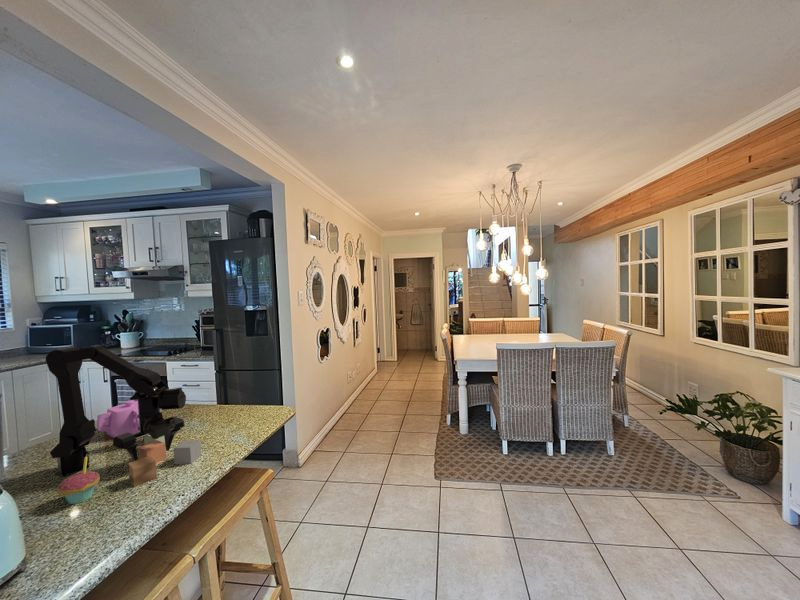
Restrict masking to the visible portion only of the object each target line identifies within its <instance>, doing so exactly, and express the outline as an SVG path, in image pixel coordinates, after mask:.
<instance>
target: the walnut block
mask: <svg viewBox="0 0 800 600" xmlns="http://www.w3.org/2000/svg"><path fill="white" fill-rule="evenodd" d="M157 473H158V472H157V463H156V461H155V460H154V459H153V458H152V457H151V456H148V457H145V458H142V459H139V458H138V460H136V461H134V460H133V461H131V462H128V475H129V482H130V483H131V485H132V484H133V485H132V486H133V488H135V487H136V486H137V487H138V485H139V486H141V484H142V485H145V484H146V482H147V483H149V482H151V480H152V481H155V480H157V479H158V475H157ZM154 479H155V480H154ZM148 481H149V482H148Z"/></svg>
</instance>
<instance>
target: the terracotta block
mask: <svg viewBox="0 0 800 600" xmlns="http://www.w3.org/2000/svg"><path fill="white" fill-rule="evenodd" d="M137 447H138V456H139V457H138V460H139V459H142V458H145V457H148V456H151V457H152V458H153V459H154V460H155V461H156V464H159V463H160V461H161V462H164V461H166V460H167V450H166V447H165V443H163V442H160V441H158V440H156V441H154V442H151V443H148V444H146V445H145V444H143V445H141V446H137ZM165 459H166V460H165ZM158 462H159V463H158Z"/></svg>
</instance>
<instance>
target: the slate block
mask: <svg viewBox="0 0 800 600" xmlns="http://www.w3.org/2000/svg"><path fill="white" fill-rule="evenodd" d="M201 448H202V447H201V439H188V440H187V439H185V440H182V441H181V442H180V443H178V444H177V445H176V446H175V447H173V448H172V449H173V459H174V460H173V463H174V465H188V464H189V465H192V464H193V463H195V461H197V460H198V459H199V458H200V457H202V449H201Z"/></svg>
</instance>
